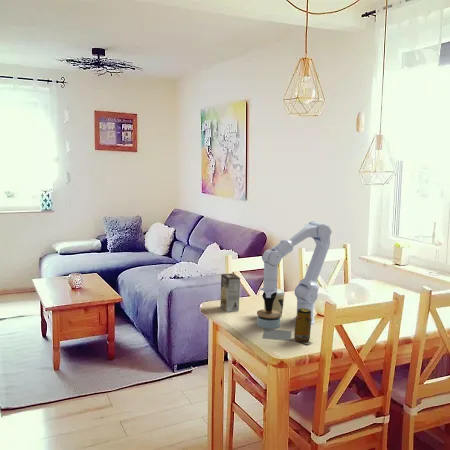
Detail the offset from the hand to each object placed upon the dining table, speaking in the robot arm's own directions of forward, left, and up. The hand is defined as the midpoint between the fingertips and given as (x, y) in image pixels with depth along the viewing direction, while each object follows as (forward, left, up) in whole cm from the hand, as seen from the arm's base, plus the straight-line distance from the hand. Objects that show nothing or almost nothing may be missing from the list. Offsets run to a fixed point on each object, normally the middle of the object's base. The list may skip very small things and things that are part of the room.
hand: (269, 310), depth 203 cm
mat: (+11, +5, -7) cm, 14 cm away
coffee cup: (-13, +1, -7) cm, 15 cm away
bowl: (0, 0, -7) cm, 7 cm away
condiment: (+14, +15, -7) cm, 22 cm away
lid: (0, 0, -2) cm, 2 cm away
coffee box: (-19, -20, -7) cm, 28 cm away
